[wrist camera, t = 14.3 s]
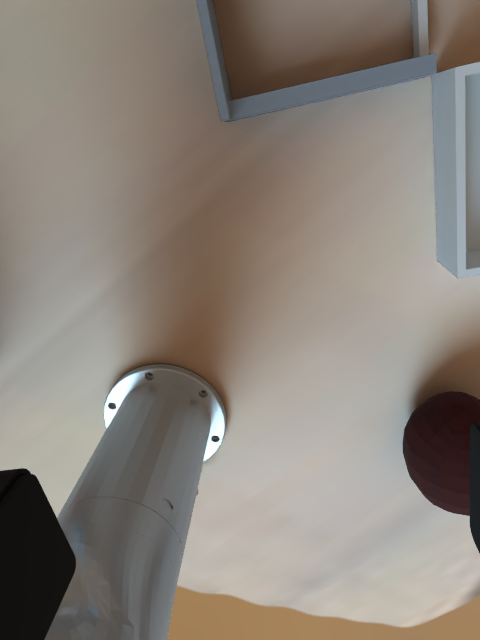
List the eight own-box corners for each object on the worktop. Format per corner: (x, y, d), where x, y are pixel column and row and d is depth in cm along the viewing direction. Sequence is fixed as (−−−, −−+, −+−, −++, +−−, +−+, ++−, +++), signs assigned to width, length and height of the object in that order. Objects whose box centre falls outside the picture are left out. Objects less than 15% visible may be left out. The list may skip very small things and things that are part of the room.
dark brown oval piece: (490, 368, 41) (545, 431, 33) (477, 468, 46) (523, 546, 37) (394, 374, 42) (424, 436, 34) (391, 471, 47) (417, 547, 38)
